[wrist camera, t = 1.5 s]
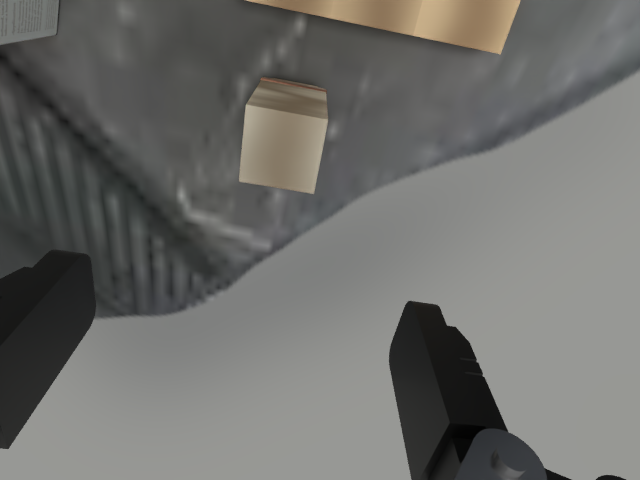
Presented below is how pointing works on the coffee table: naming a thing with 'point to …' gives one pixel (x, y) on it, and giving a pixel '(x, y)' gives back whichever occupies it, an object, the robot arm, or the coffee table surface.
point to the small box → (27, 19)
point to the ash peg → (284, 135)
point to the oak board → (421, 18)
